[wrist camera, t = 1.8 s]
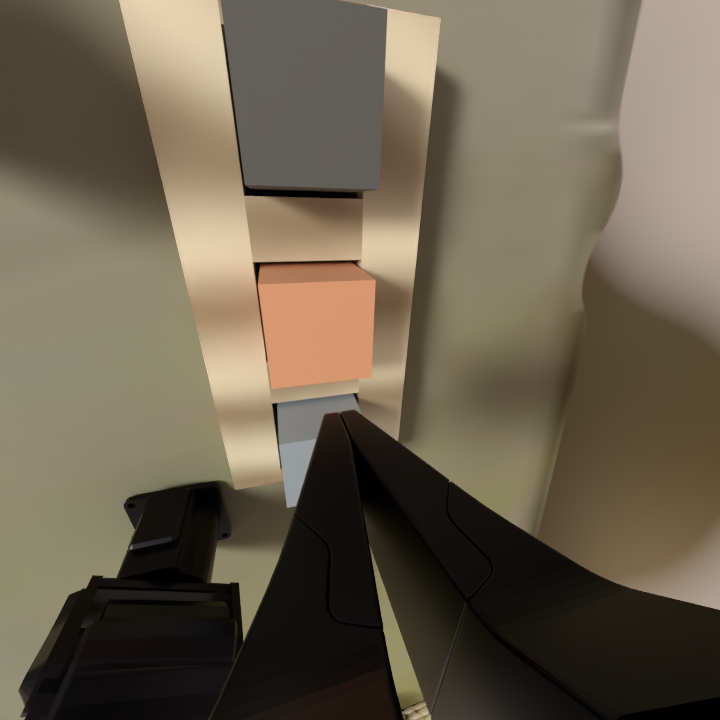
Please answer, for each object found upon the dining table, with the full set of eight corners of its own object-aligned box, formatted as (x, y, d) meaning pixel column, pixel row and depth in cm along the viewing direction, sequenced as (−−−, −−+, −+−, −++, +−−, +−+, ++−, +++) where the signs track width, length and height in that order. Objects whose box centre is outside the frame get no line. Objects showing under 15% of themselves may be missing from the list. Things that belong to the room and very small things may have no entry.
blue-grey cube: (348, 439, 24) (366, 491, 20) (283, 450, 23) (287, 507, 19) (349, 385, 22) (369, 430, 17) (276, 394, 21) (278, 444, 16)
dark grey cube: (350, 192, 16) (379, 189, 12) (251, 189, 15) (244, 184, 11) (351, 68, 14) (387, 9, 10) (234, 52, 13) (217, -23, 8)
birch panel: (383, 434, 27) (396, 459, 24) (238, 458, 24) (235, 489, 21) (411, 48, 15) (440, 18, 13) (141, 7, 13) (108, -44, 10)
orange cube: (349, 339, 20) (371, 377, 16) (270, 346, 19) (271, 389, 15) (349, 261, 18) (375, 279, 14) (260, 263, 17) (257, 284, 12)
